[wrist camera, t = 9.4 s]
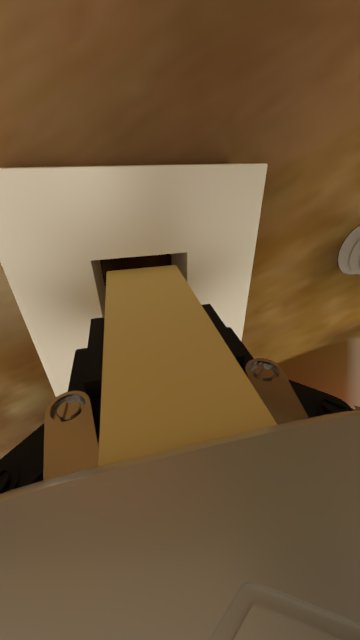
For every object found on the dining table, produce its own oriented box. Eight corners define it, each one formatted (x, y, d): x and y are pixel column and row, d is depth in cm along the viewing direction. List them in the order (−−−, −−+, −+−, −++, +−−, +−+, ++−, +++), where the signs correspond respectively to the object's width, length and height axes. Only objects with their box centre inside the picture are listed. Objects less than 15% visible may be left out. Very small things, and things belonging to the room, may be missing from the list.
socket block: (4, 167, 14) (-38, 169, 10) (230, 163, 17) (267, 163, 13) (89, 423, 27) (86, 470, 23) (211, 399, 30) (227, 437, 26)
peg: (106, 271, 14) (95, 527, 4) (175, 264, 15) (305, 469, 5) (117, 329, 16) (125, 590, 6) (177, 321, 17) (269, 543, 7)
